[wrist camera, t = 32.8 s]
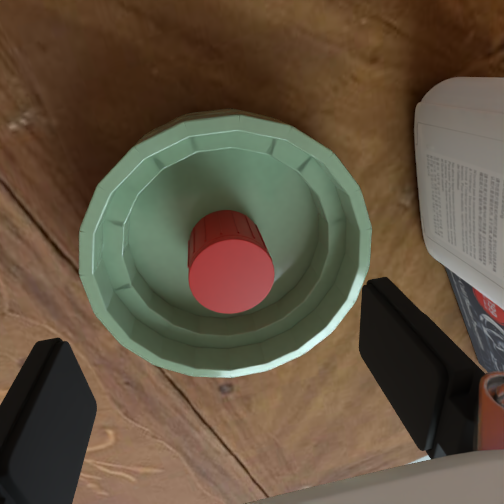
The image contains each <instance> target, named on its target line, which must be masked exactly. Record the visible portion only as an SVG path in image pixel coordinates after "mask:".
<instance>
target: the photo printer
mask: <svg viewBox="0 0 504 504" xmlns="http://www.w3.org/2000/svg"><path fill="white" fill-rule="evenodd" d="M414 140H415V157H416V169H417V182H418V193H419V203H420V214H421V224H422V231H423V237H424V242H425V245H426V248H427V250H428V252H429V254H430V255H431V256H432V257H433V258H435V259H436V260H437V261H439V262H440V263H441V264H443V265H444V266H445V267H447V268H448V269H449V270H451V271H452V272H454V273H455V274H456V275H458V276H459V277H460V278H462V279H463V280H464V281H466V282H467V283H468V284H470V285H471V286H472V287H474V288H475V289H476V290H478V291H479V292H480V293H482V294H483V295H484V296H486V297H487V298H488V299H490V300H491V301H492V302H494V303H495V304H496V305H498V306H499V307H500V308H502V309H503V310H504V78H497V77H454V78H450V79H447V80H444V81H442V82H440V83H439V84H437V85H435V86H434V87H433V88H432V89H431V90H430V91H428V92H427V94H426V95H425V96H424V97H423V98H422V100H421V102H419V103H418V104H417V106H416V109H415V121H414Z"/></svg>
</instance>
